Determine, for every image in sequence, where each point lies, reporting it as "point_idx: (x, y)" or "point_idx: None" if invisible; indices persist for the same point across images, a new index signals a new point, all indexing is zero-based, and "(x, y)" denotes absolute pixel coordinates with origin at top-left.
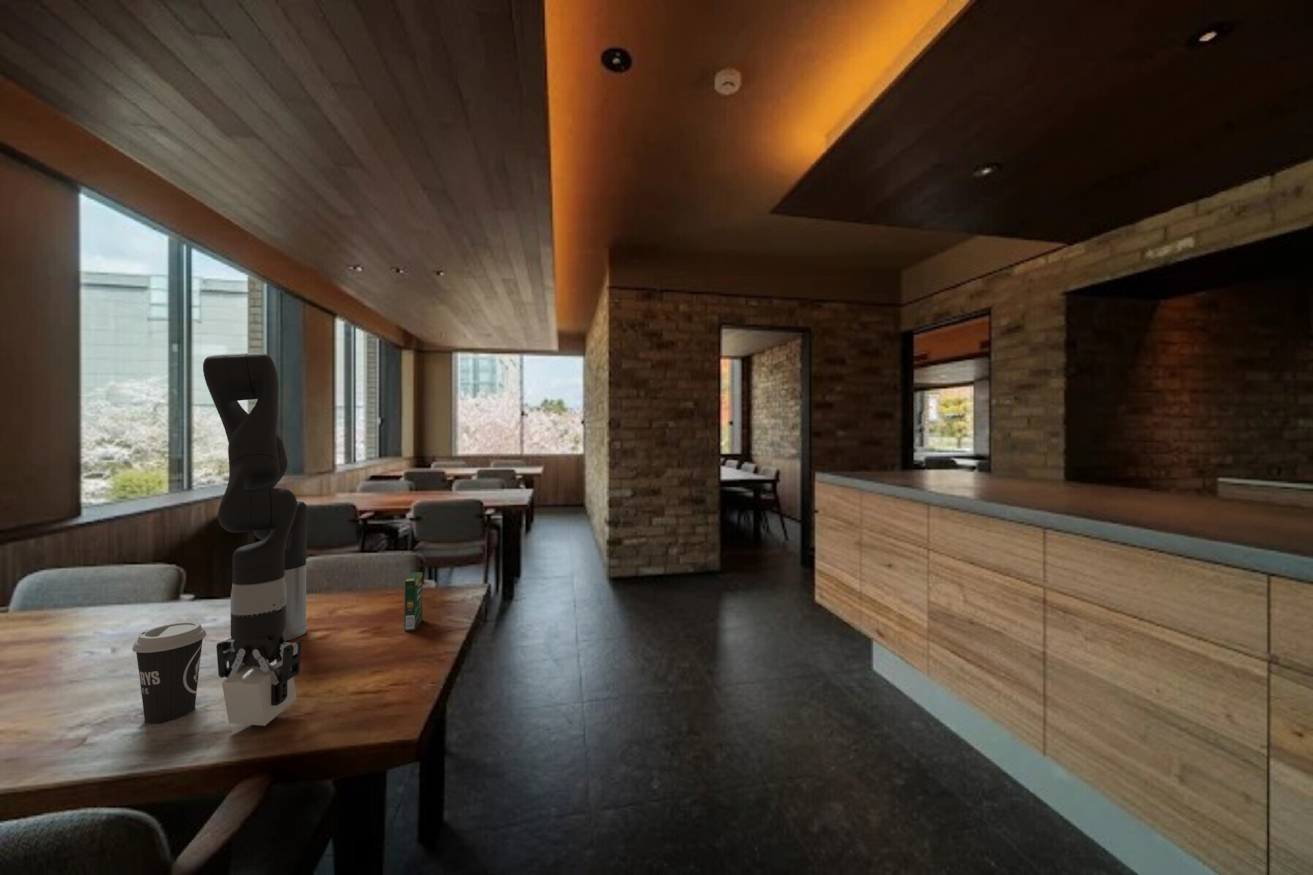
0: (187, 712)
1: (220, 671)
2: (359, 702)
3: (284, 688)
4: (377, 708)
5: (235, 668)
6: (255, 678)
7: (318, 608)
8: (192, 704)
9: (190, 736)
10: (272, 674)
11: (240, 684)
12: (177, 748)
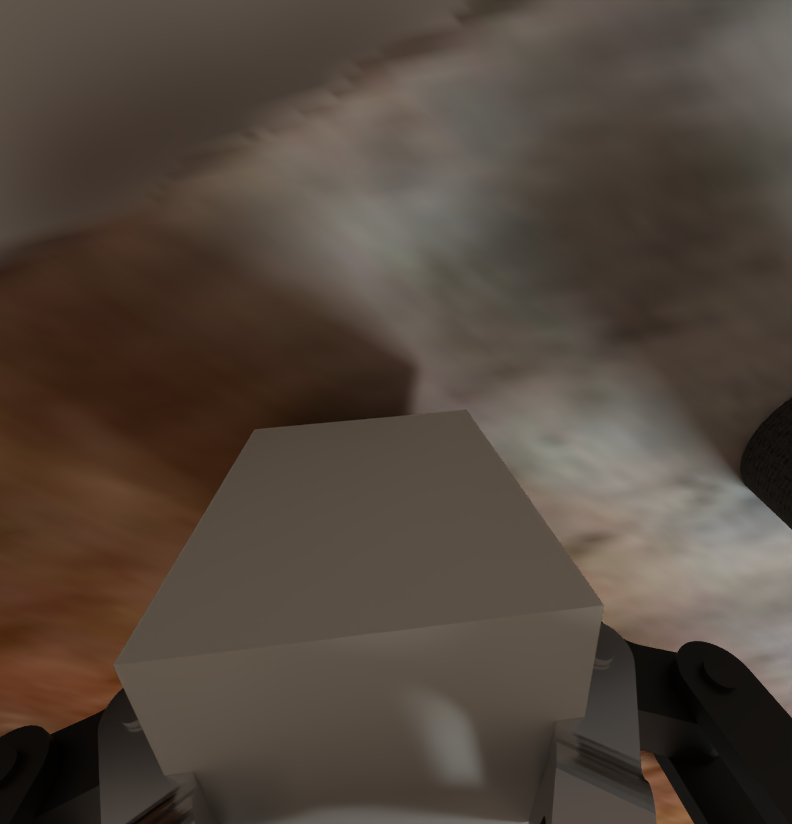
0: (751, 452)
1: (753, 705)
2: (131, 625)
3: None
4: (8, 618)
5: (591, 800)
6: (279, 717)
7: None
8: (762, 484)
9: (610, 326)
10: (135, 794)
11: (357, 625)
12: (595, 227)
